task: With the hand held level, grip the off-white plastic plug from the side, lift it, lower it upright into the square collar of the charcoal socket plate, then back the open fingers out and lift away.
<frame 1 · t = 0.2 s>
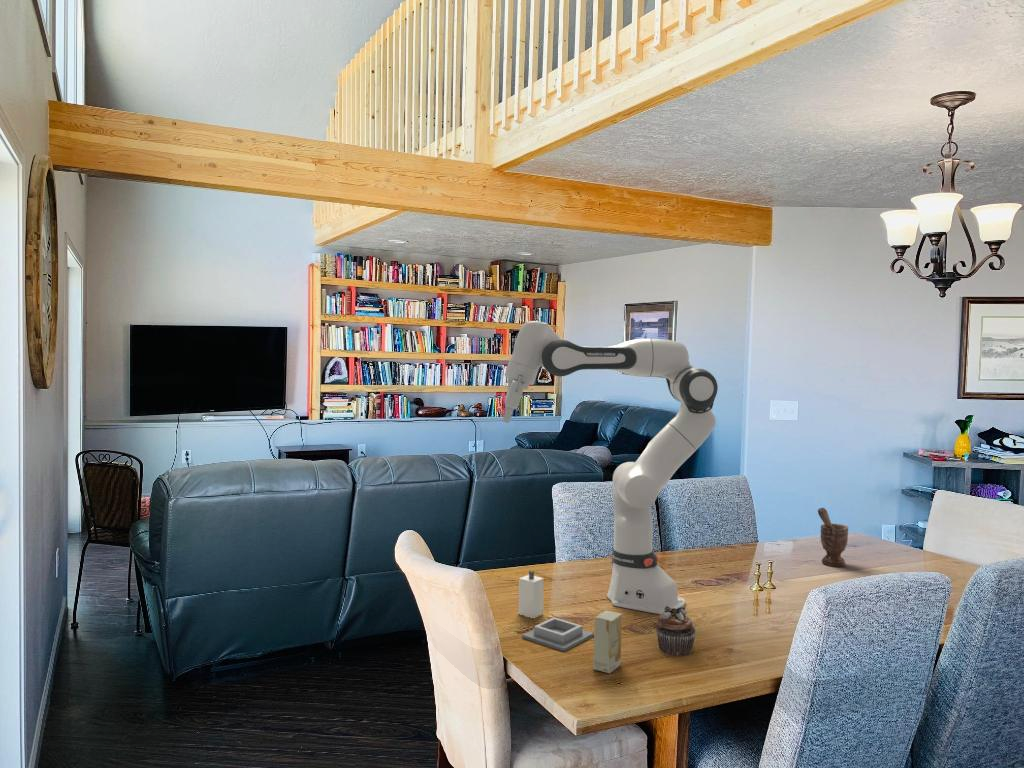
hand: (505, 420, 220), 52 cm above the table, tool tilted 15°, fingers open, 8 cm apart
cupcake: (675, 649, 188), on the table
mortar and pestle: (831, 565, 260), on the table
socket plate: (558, 636, 194), on the table
plug: (530, 614, 210), on the table
skincare box: (607, 668, 177), on the table
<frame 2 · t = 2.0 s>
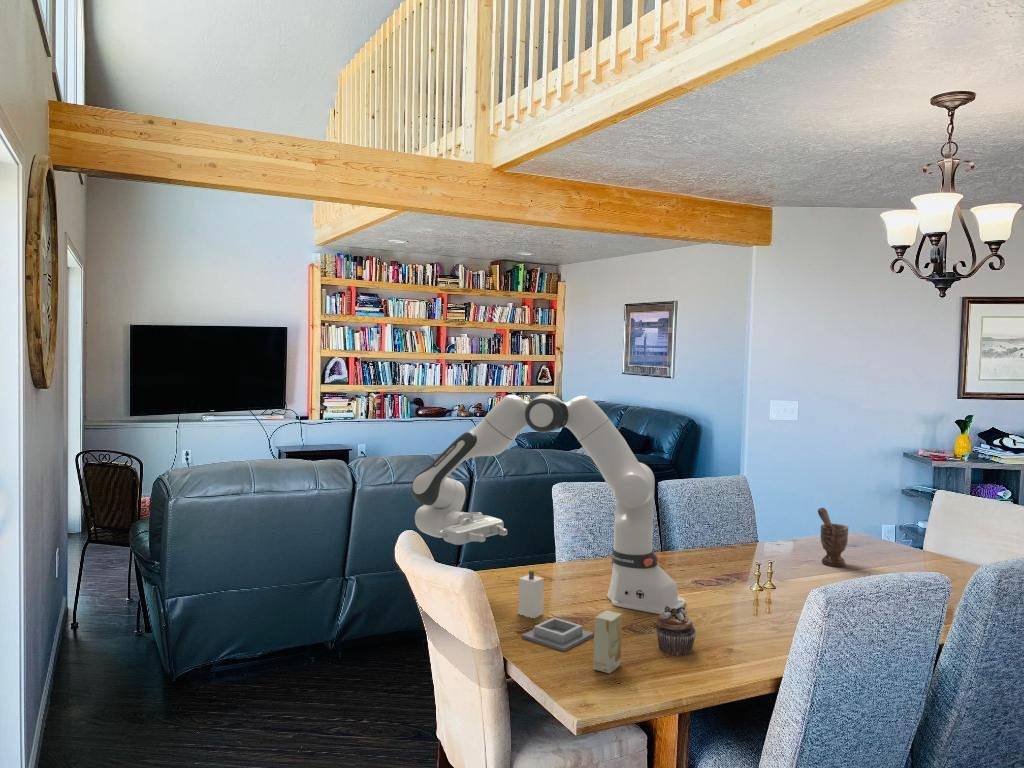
hand: (495, 535, 217), 19 cm above the table, tool horizontal, fingers open, 8 cm apart
nothing on the table moved.
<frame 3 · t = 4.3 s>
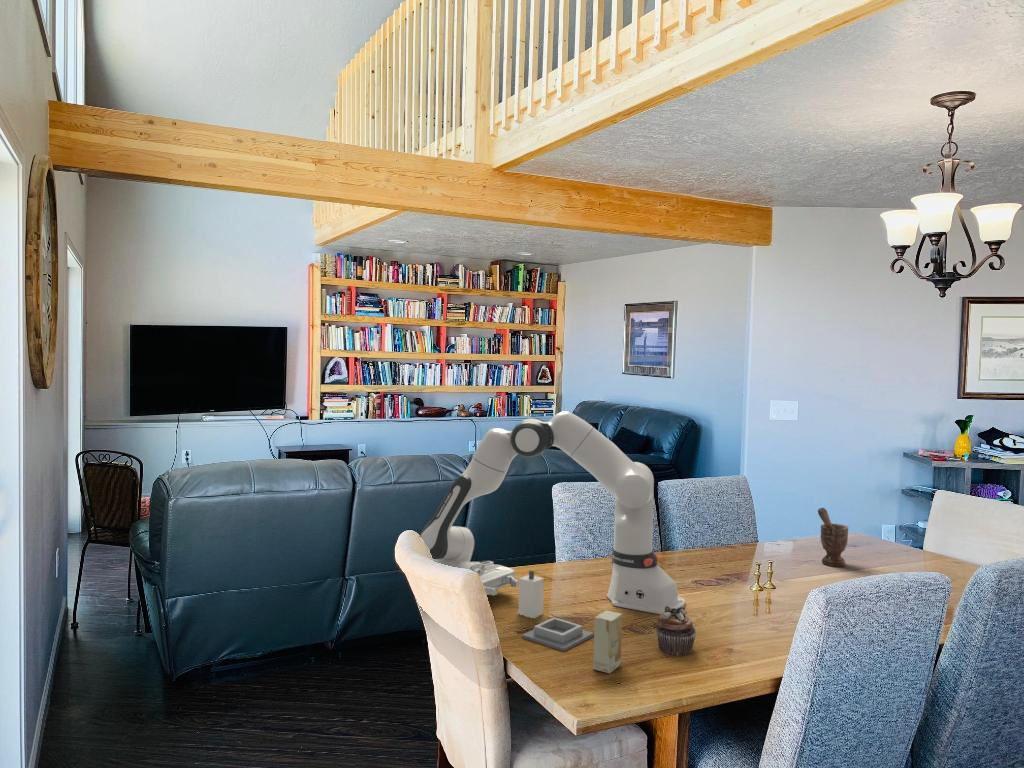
hand: (507, 587, 215), 5 cm above the table, tool horizontal, fingers open, 8 cm apart
nothing on the table moved.
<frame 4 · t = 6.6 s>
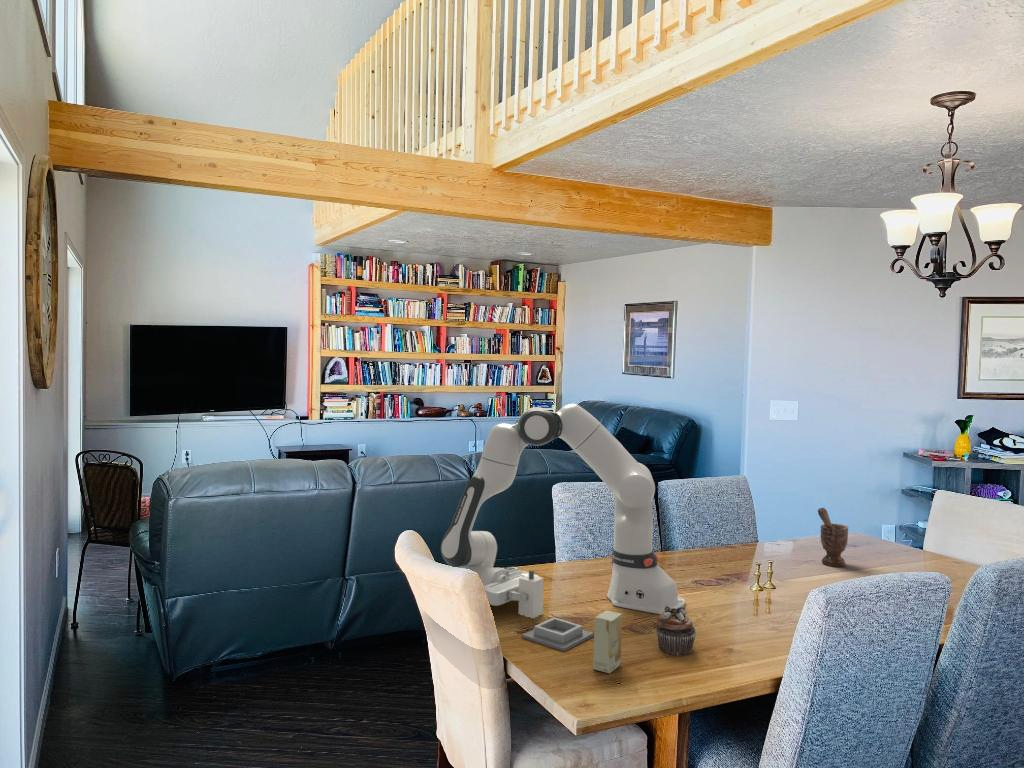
hand: (533, 595, 209), 6 cm above the table, tool horizontal, fingers closed on plug, 4 cm apart
plug: (530, 614, 210), on the table, touching gripper
everything else where it was.
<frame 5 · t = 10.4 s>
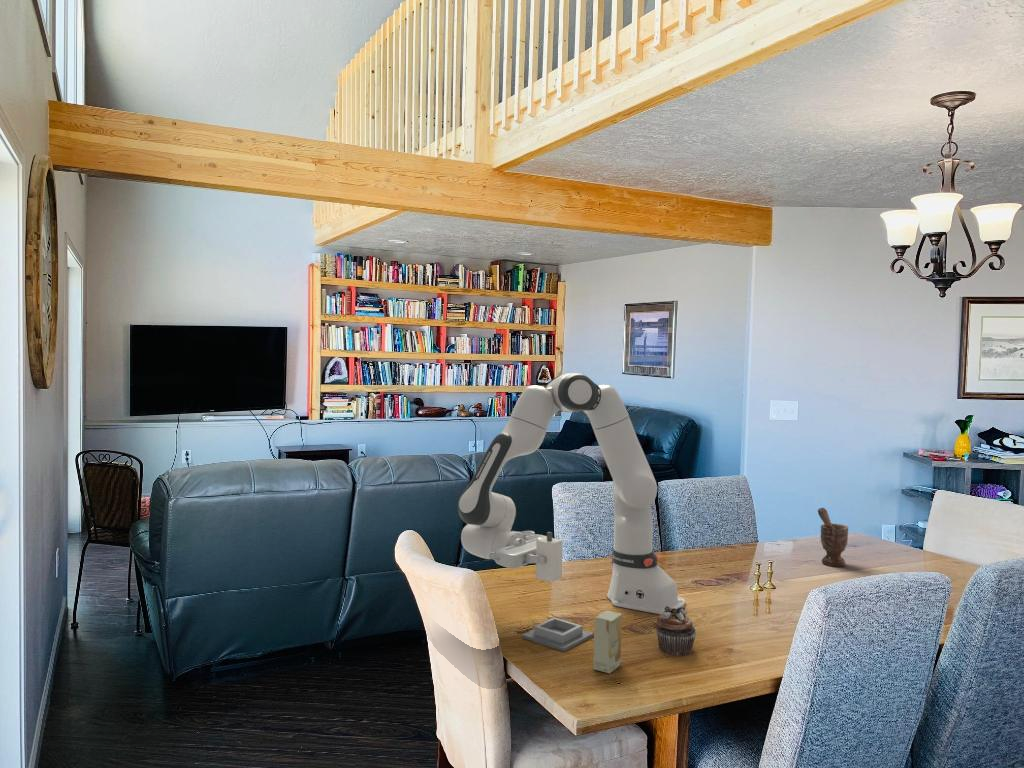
hand: (552, 558, 198), 19 cm above the table, tool horizontal, fingers closed on plug, 4 cm apart
plug: (548, 578, 199), point 13 cm above the table, touching gripper
everything else where it was.
when the fingers open (7 cm above the table, at t = 14.2 s): plug stays where it is, resting on socket plate.
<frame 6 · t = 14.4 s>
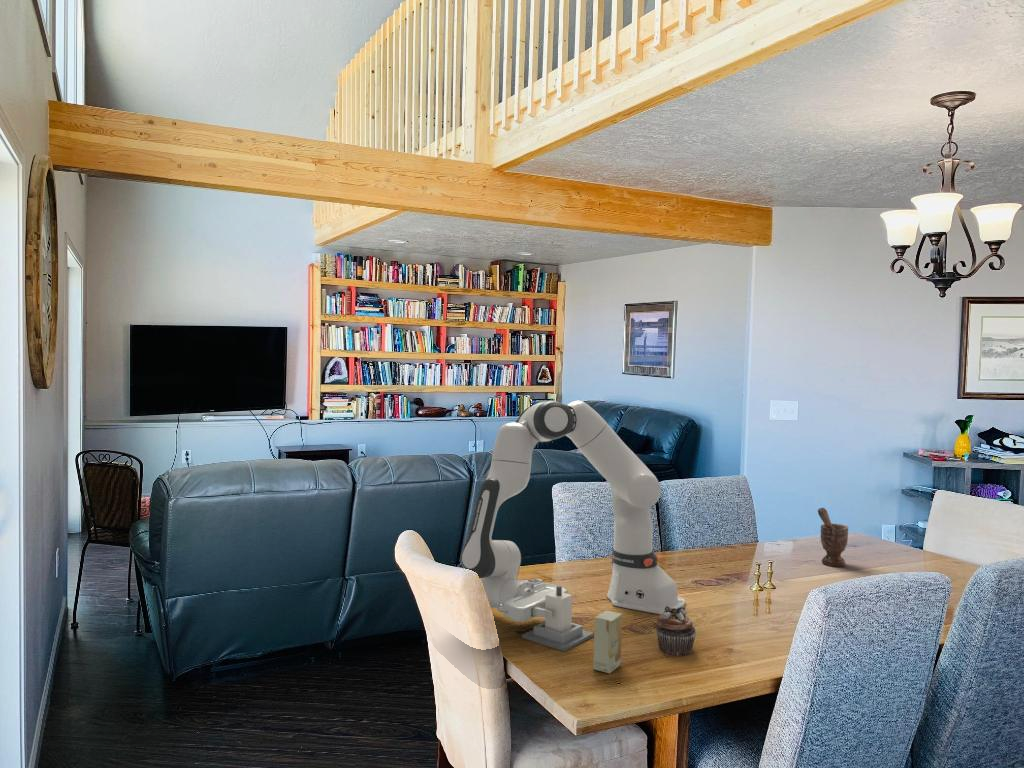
hand: (561, 610, 193), 7 cm above the table, tool horizontal, fingers open, 6 cm apart
plug: (558, 633, 194), point 1 cm above the table, touching socket plate
everything else where it was.
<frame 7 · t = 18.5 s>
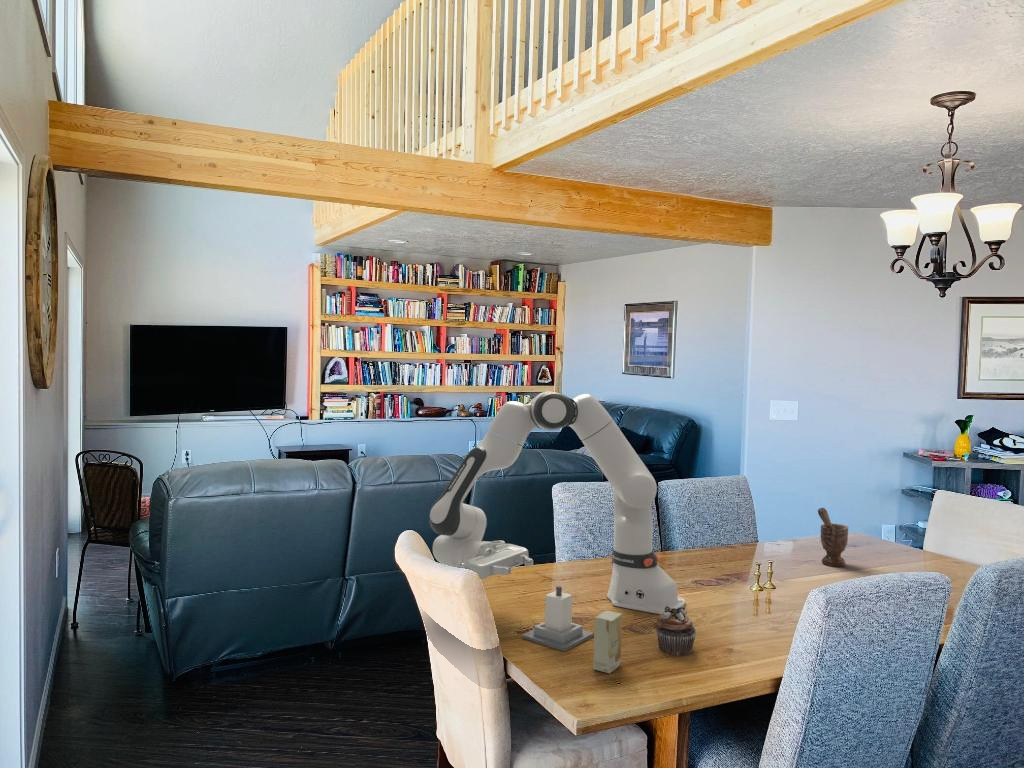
hand: (520, 567, 201), 15 cm above the table, tool horizontal, fingers open, 8 cm apart
nothing on the table moved.
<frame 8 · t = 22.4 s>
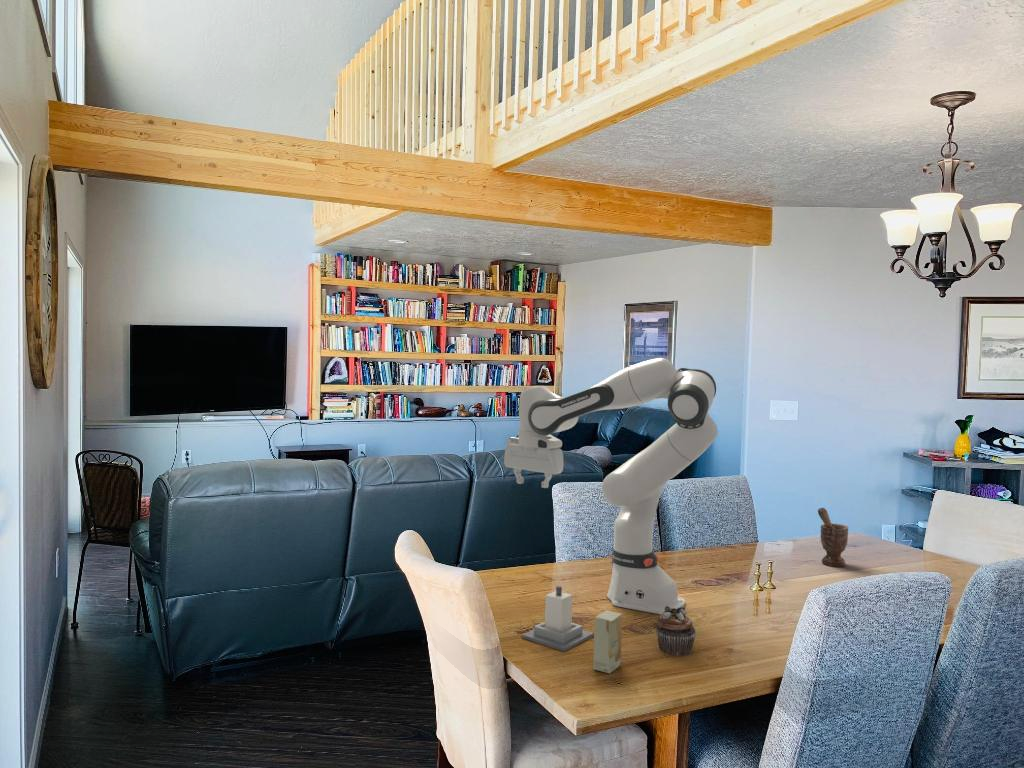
hand: (532, 485, 231), 31 cm above the table, tool pointing down, fingers open, 8 cm apart
nothing on the table moved.
at the end: plug 0.0 cm off-centre on the socket plate, point 0.8 cm above the socket plate's base; plug tilted 0°; the gripper is holding nothing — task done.
